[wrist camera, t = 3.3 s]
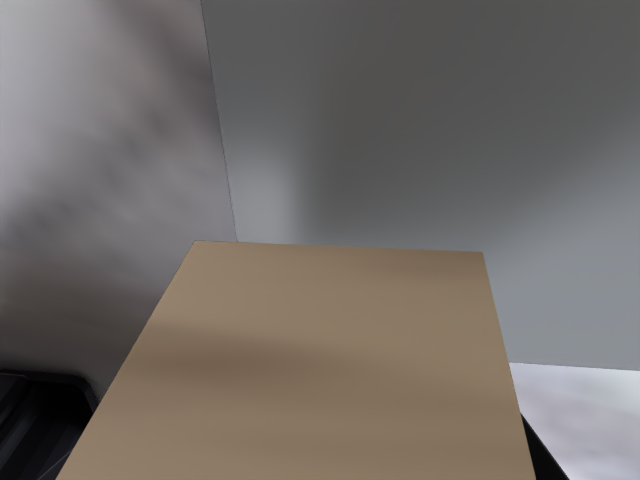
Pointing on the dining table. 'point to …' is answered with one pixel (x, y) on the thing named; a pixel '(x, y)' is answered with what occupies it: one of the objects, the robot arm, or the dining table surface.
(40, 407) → the robot arm
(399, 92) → the building board
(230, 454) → the maple block
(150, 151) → the dining table surface
